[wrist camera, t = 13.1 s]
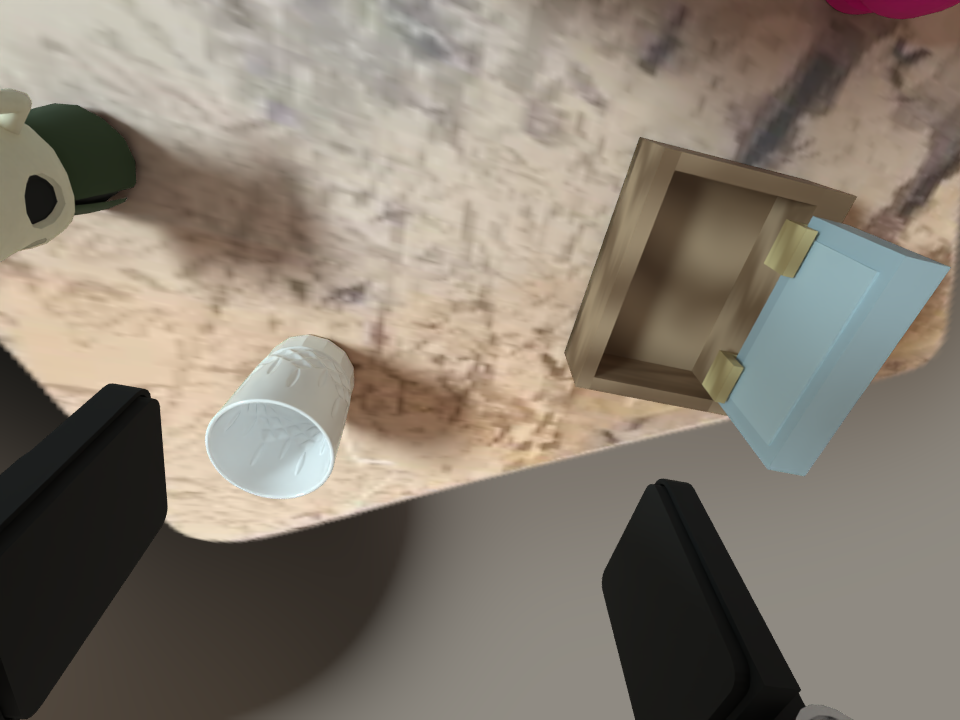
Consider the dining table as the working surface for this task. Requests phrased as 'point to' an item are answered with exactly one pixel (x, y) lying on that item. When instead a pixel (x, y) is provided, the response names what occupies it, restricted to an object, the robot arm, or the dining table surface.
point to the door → (824, 341)
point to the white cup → (284, 420)
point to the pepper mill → (892, 7)
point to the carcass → (690, 273)
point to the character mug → (55, 169)
